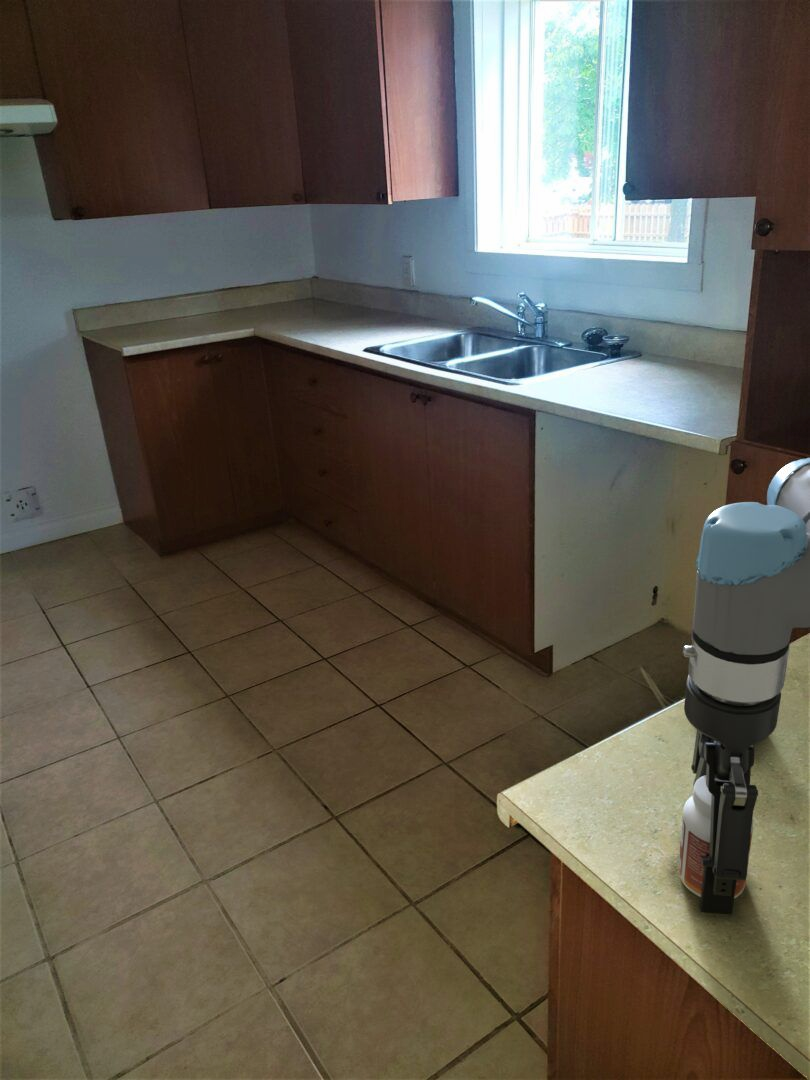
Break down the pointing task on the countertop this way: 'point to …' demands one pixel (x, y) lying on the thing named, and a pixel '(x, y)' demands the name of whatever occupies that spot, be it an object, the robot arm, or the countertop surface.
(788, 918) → the countertop surface
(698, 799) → the pill bottle
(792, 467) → the robot arm
